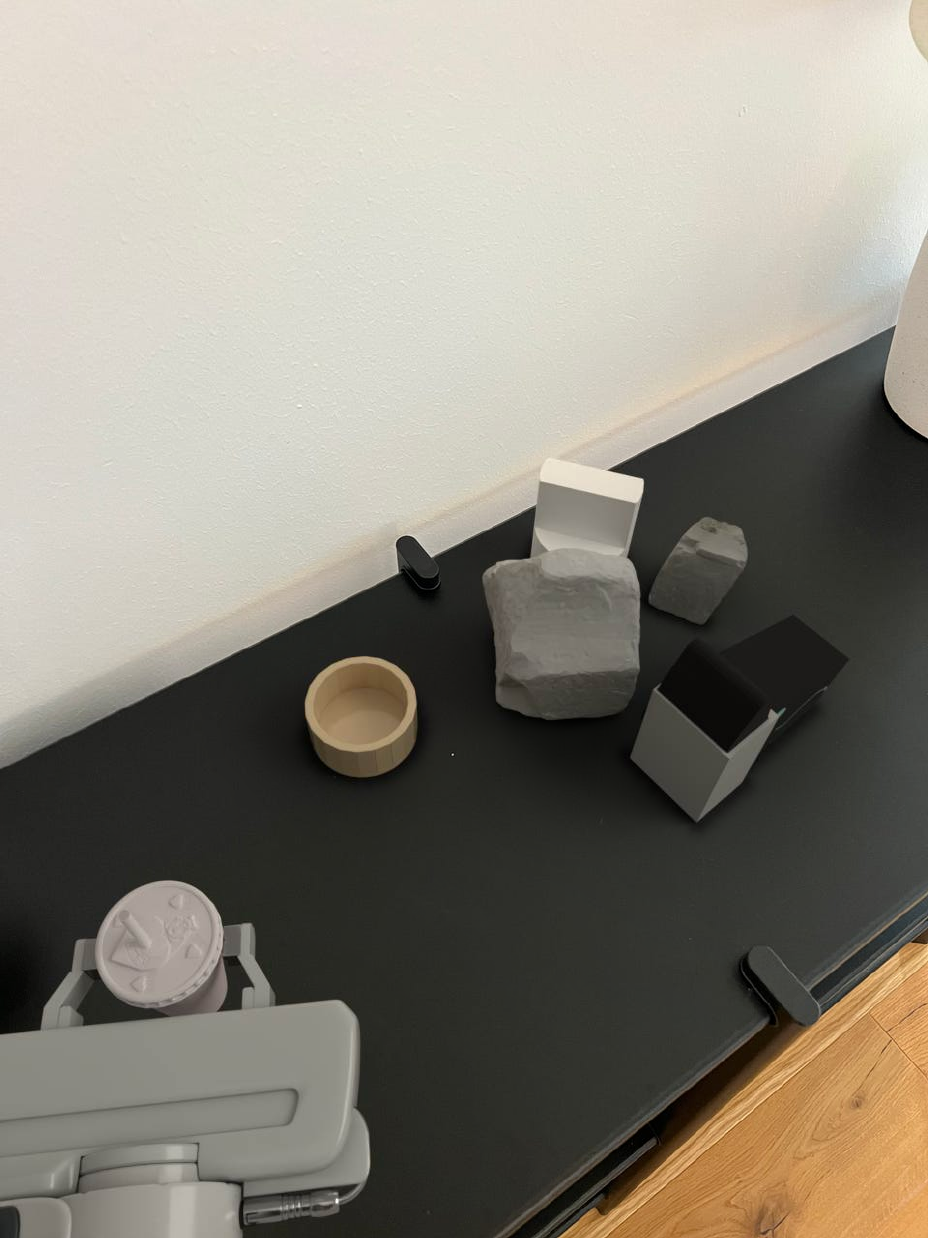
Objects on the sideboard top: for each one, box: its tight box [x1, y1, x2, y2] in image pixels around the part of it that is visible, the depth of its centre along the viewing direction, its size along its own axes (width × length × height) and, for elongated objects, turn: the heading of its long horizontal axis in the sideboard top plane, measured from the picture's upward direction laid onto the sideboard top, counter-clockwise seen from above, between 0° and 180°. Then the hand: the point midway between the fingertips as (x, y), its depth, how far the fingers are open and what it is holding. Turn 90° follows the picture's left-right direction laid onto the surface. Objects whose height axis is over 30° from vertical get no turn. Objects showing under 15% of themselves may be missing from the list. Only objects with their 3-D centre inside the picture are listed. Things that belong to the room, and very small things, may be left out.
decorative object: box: [629, 614, 850, 823], centre depth 76 cm, size 8×18×15 cm, turn 130°
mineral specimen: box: [648, 516, 749, 625], centre depth 87 cm, size 7×9×8 cm
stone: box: [481, 548, 641, 721], centre depth 79 cm, size 12×12×15 cm
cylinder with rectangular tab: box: [529, 457, 645, 559], centre depth 87 cm, size 9×9×12 cm
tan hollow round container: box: [304, 655, 418, 778], centre depth 79 cm, size 9×9×4 cm
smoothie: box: [95, 880, 228, 1017], centre depth 51 cm, size 6×6×14 cm
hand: (166, 934), depth 51 cm, fingers closed on smoothie, 6 cm apart
